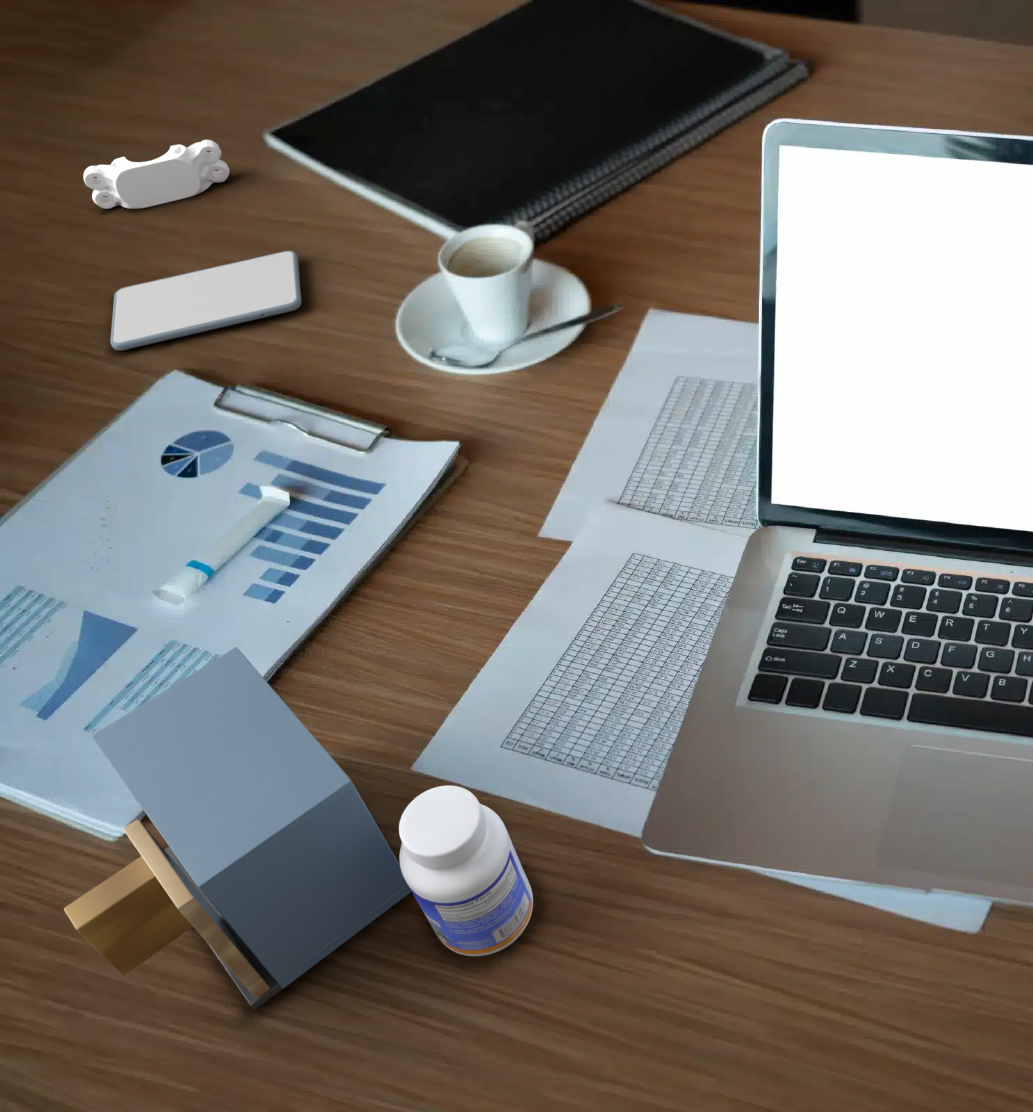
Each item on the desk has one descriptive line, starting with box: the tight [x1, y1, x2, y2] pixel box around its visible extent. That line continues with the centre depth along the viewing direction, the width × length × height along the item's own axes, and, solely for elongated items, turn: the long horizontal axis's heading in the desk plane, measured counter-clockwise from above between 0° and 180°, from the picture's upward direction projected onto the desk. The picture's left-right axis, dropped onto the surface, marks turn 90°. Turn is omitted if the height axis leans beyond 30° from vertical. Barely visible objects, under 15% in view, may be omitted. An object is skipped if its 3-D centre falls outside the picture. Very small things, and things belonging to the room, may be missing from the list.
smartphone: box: [109, 250, 302, 351], centre depth 109 cm, size 8×1×15 cm
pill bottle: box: [398, 784, 534, 957], centre depth 67 cm, size 5×5×10 cm
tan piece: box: [63, 818, 270, 998], centre depth 64 cm, size 5×6×10 cm
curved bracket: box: [82, 139, 231, 210], centre depth 120 cm, size 12×2×4 cm, turn 113°
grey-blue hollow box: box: [91, 646, 412, 1010], centre depth 69 cm, size 10×12×11 cm
